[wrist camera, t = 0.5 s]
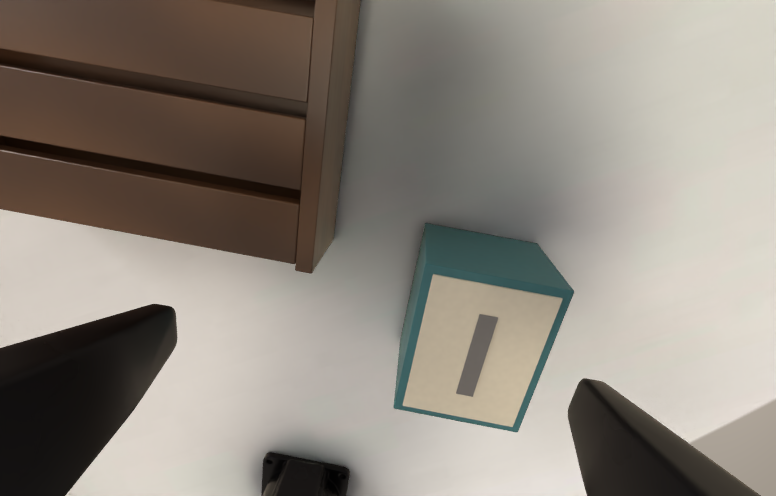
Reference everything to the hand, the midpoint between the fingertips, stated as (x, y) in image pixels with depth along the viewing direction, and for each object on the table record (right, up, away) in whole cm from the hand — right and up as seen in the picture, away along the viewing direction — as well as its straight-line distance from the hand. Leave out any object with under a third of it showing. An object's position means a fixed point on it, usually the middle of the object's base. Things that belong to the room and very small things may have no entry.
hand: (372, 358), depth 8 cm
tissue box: (+5, 0, +14) cm, 15 cm away
